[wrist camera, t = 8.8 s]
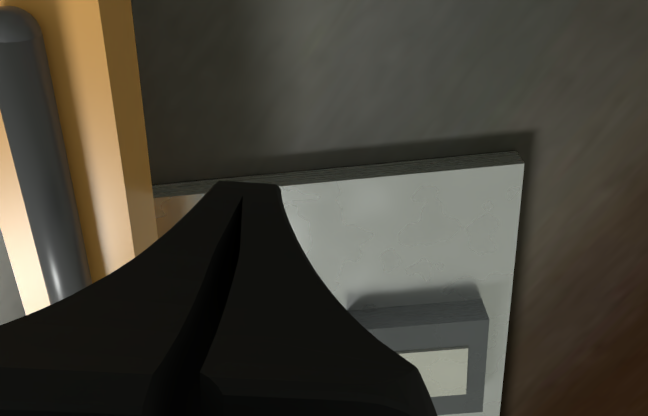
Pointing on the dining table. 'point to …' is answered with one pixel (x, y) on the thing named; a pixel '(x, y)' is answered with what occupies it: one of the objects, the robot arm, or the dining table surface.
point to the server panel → (409, 258)
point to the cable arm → (71, 145)
